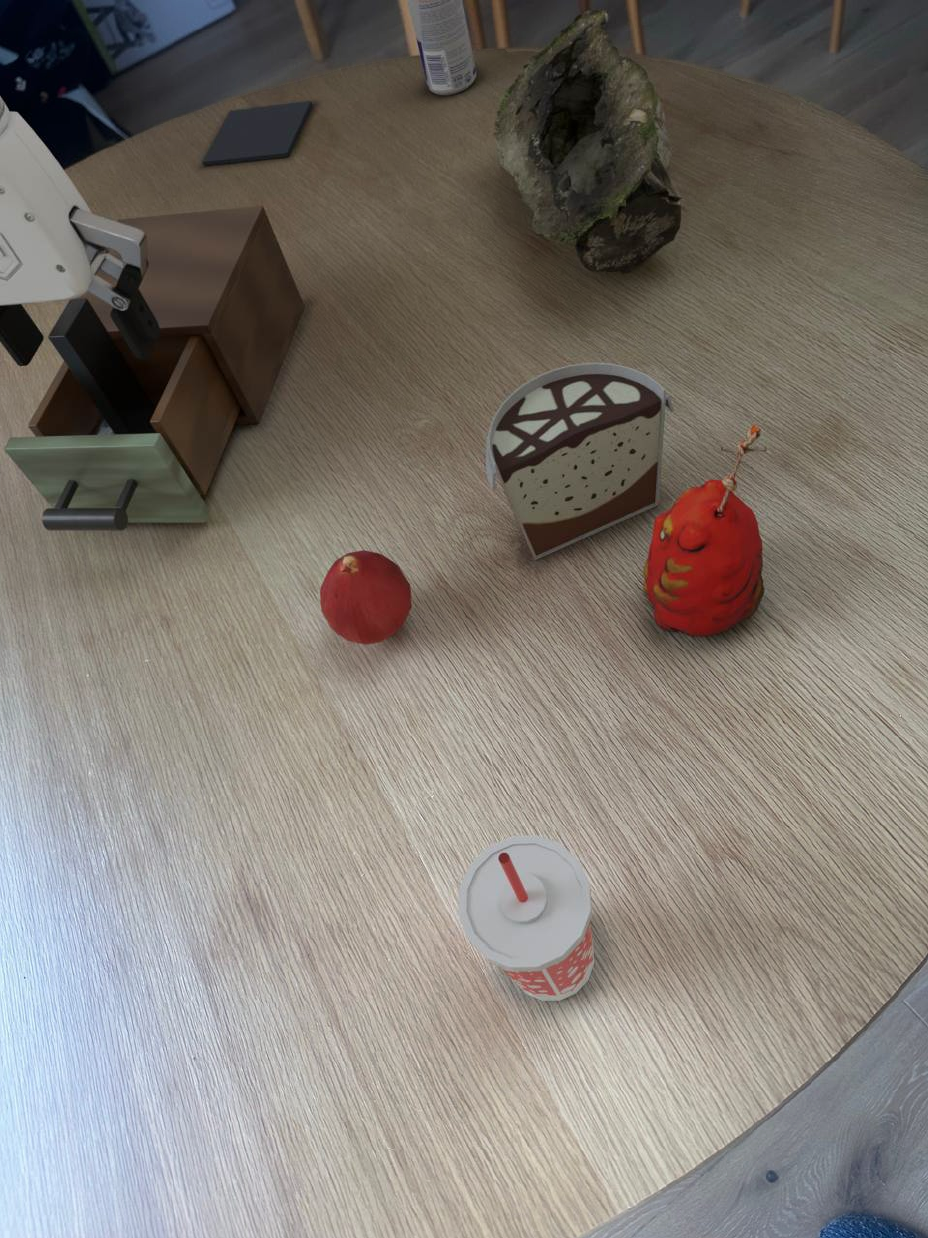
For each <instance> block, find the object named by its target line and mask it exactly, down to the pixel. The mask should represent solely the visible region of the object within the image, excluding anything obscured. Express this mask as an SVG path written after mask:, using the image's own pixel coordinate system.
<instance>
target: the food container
mask: <svg viewBox="0 0 928 1238" xmlns="http://www.w3.org/2000/svg"><path fill="white" fill-rule="evenodd" d="M666 408H667V409H668V410H669V411H671V413H674V412H675V408H674V405H673V402H672V399H671V396H670V395H669V393H667V391H666V389H665V387H664V386H662V385H661V384H660V383H659V382H658V381H657V380H656V379H654V378H652V377H651V376H649V375H648V374H646V373H644V372H641V371H640V370H638V369H635V368H631V367H629V366H626V365H621V364H615V363H610V362H609V363H608V362H583V363H576V364H570V365H565V366H561V367H557V368H554V369H552V370H549V371H547V372H544V373H541V374H539V375H538V376H536V377H533V378H532V379H530V380H528V381H527V382H525V383H523V384H522V385H521V386H519V387H517V389H516V390H514V391H513V392H512V393H511V394H509V396H508V397H507V398H506V399H505V400H504V401H503V402H502V403H501V404H500V406H499V408H498V409H497V411H496V413H494V416H493V418H492V421H491V423H490V427H489V430H488V432H487V438H486V441H485V472H486V476H487V481H488V484H489V486H490V489H491V491H492V492H495V491H496V476H497V478H498V480H499V483H500V484H501V485H500V486H501V487H502V490H503V492H504V494H505V497H506V499H507V501H508V504H509V506H510V508H511V511H512V512H513V515H514V517H515V520H516V522H517V524H518V527H519V529H520V531H521V533H522V536H523V538H524V541H525V543H526V545H527V548H528V550H529V552H530V554H531V556H532V559H533V561H534V562H535V561H537V560H540V559H542V558H543V557H547V556H548V555H550V554H552V553H555V552H557V551H560V550H562V549H563V548H566V547H569V546H570V545H572V544H575V543H578V542H580V541H582V540H584V539H586V538H588V537H590V536H593V535H595V534H598V533H599V532H602V531H604V530H606V529H608V528H611V527H613V526H615V525H617V524H620V523H622V522H624V521H626V520H629V519H631V518H633V517H635V516H637V515H639V514H642V513H644V512H647V511H649V510H651V509H653V508H656V507H657V506H659V505H660V494H661V479H662V464H663V448H664V432H665V420H666V419H665V418H666Z"/></svg>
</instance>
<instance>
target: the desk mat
mask: <svg viewBox="0 0 928 1238" xmlns="http://www.w3.org/2000/svg"><path fill="white" fill-rule="evenodd" d="M312 106H313V103H312V101H311V100H308V101H299V102H291V103H283V104H282V103H281V104H275V105H267V106H258V107H251V108H243V109H235V110H229V111H228V113H227V116H226V117H225V120H224V121H223V123H222V125H221V127H220V128H219V131H218V132H217V134H216V135H215V137H214V139H213V141H212V144H211V145H210V146H209V148H208V151H207V152H206V155H205V156H204V158H203V160H202V165H203V167H207V166H208V167H209V166H217V165H226V164H227V165H228V164H235V163H244V162H252V161H263V160H264V161H265V160H271V159H280V158H281V159H282V158H289V157H290V154H291V152H292V150H293V148H294V146H295V143H296V141H297V139H298V137H299V135H300V133H301V130H302V128H303V126H304V125H305V122H306V120H307V117H308V115H309V113H310V111H311V109H312Z"/></svg>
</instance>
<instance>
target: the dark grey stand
mask: <svg viewBox="0 0 928 1238" xmlns="http://www.w3.org/2000/svg"><path fill="white" fill-rule="evenodd" d="M47 339H49V341H50V343H51V344H52V346H53V347H54V348H55V350H56V351H57V353H58V354H59V356H60V357H61V359H62V360H63V362H64V361H65V363H66V364H67V366H68V367H69V369H70V370H71V371H72V373H73V374H74V376H75V377H76V379H77V380H78V382H79V383H80V384H81V386H82V387H83V389H84V390H85V392H86V393H87V395H88V396H89V397H90V399H91V400H92V402H93V403H94V405H95V406H96V407H97V409H98V410H99V412H100V413H101V415H102V416H103V418H102V420H101V422H100V424H99V426H98V428H97V430H96V431H95V433H94V435H115V434H151V433H157V432H156V431H155V429H154V428H153V426H152V425H151V423H150V420H151V418H152V416H153V414H154V412H155V410H156V408H157V406H154V404H153V403H152V401H151V400H150V398H149V396H148V395H147V393H146V392H145V390H144V388H143V387H142V385H141V384H140V382H139V381H138V379H137V377H136V376H135V374H134V373H133V371H132V369H131V368H130V366H129V365H128V363H127V361H126V360H125V358H124V357H123V355H122V353H121V352H120V350H119V349H118V347H117V345H116V344H115V342H114V341H113V339H112V337H111V336H110V334H109V333H108V331H107V330H106V328H105V326H104V325H103V323H102V322H101V320H100V318H99V317H98V315H97V314H96V312H95V310H94V309H93V307H92V306H91V304H90V302H89V301H88V299H87V298H77V299H70V300H68V302H67V303H66V305H65V307H64V309H63V310H62V312H61V314H60V315H59V317H58V319H57V320H56V322H55V324H54V326H53V327H52V328H51V330H50V333H49V334H48V336H47Z"/></svg>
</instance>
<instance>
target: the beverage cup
mask: <svg viewBox="0 0 928 1238" xmlns="http://www.w3.org/2000/svg"><path fill="white" fill-rule="evenodd" d="M591 887H592V886H591V883H590V881H589V879H588V877H587V874H586V872H585V870H584V868H583V866H582V864H581V861H580V860H579V858H577V857H576V856H575V855H574V854H572V852H570V851H569V850H568V849H567V848H566V847H565V846H564V845H562V844H561V843H560V842H556V841H554V840H551V839H548V838H546V837H543V836H540V835H536V834H533V835H531V834H530V835H511V836H509V837H506V838H504V839H502V840H499V841H498V842H495V843H493V844H491V845H488V846H487V847H486V848H485V849H483V851H482V852H481V853H480V854H479V855H477V856H476V857H475V859H474V860H473V861H471V862H470V863H469V865H468V867H467V870H466V871H465V874H464V876H463V878H462V881H461V882H460V885H459V887H458V902H457V903H458V905H457V907H458V908H457V916H458V918H459V921H460V924H461V926H462V929H463V932H464V935H465V937H466V939H467V941H468V942H469V943H470V944H471V945H472V947H474V948H475V949H476V950H477V952H478V953H480V954H481V955H482V957H484V958H485V959H486V961H487V962H488V963H491V964H493V965H496V966H498V967H500V968H501V969H502V970H503V971H504V972H505V973H506V974H507V975H508V977H509V978H510V979H511V980H512V981H513V982H514V983H515V984H516V985H517V986H518V987H519V988H520V989H521V991H523V993H525V995H526V996H530V997H532V998H534V999H537V1000H539V1001H542V1002H561V1001H563V1000H565V999H567V998H570V997H571V996H574V995H576V994H578V992H579V991H580V990H581V989H582V988H583V987H584V986H585V985H586V984H587V983H588V982H589V979H590V977H591V974H592V972H593V969H594V966H595V947H594V946H595V945H594V938H593V932H592V924H591V920H592V917H593V904H592V889H591Z"/></svg>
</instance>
